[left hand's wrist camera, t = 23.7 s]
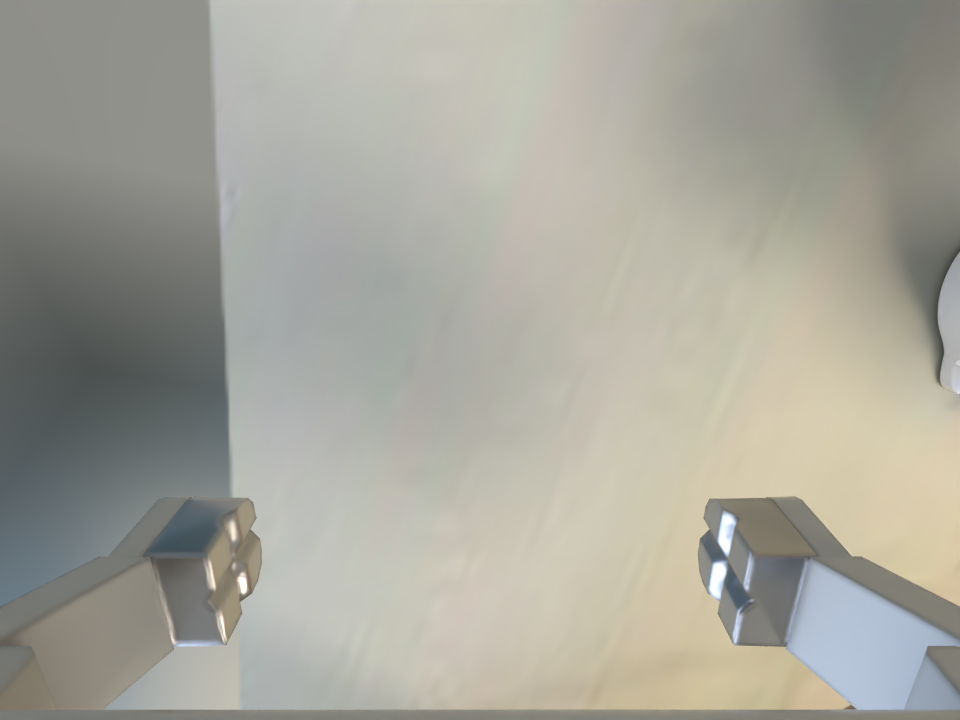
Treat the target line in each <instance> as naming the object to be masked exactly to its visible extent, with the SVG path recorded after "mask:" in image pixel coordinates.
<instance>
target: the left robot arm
mask: <svg viewBox="0 0 960 720" xmlns="http://www.w3.org/2000/svg"><path fill="white" fill-rule="evenodd" d="M938 325H939V330H940V334H941V338H942V341H943V345H944V357H943V361H942V366H941V372H940V382H941V385H942V386H943V387H944V388H945V389H947V390H950V391H952V392H955V393H957V394H960V252H959V253H958V254H957V256H956V258H955V259H954V261H953V262H952V264H951V266H950V268H949V270H948V272H947V274H946V277H945V279H944V282H943V285H942V288H941V291H940V296H939V301H938ZM255 520H256V514H255V509H254V504H253V502H252V501H251V500H250V499H249V498H222V497H193V498H192V497H164V498H161V499H159V500H158V501H157V502H156V503H155V504H154V505H153V506H152V507H151V508H150V510H149V511H148V512H147V513H146V514H145V515H144V516H143V518H142V519H141V520H140V521H139V522H138V523H137V524H136V525H135V527H134V528H133V529H132V530H131V531H130V532H129V533H128V534H127V536H126V537H125V538H124V539H123V540H122V541H121V542H120V544H119V545H118V546H117V547H116V548H115V549H114V550H113V551H112V553H111V554H110V555H109V556H108V557H97V558H95V559H93V560H91V561H89V562H87V563H85V564H83V565H81V566H79V567H77V568H75V569H73V570H71V571H69V572H67V573H65V574H64V575H62V576H60V577H58V578H56V579H54V580H52V581H50V582H48V583H46V584H44V585H42V586H40V587H38V588H36V589H34V590H32V591H30V592H28V593H26V594H24V595H22V596H20V597H18V598H16V599H14V600H12V601H10V602H8V603H6V604H4V605H2V606H0V720H960V607H959V606H957V605H955V604H954V603H952V602H950V601H948V600H946V599H944V598H942V597H940V596H938V595H936V594H934V593H932V592H930V591H928V590H926V589H924V588H922V587H920V586H918V585H916V584H914V583H912V582H910V581H908V580H906V579H904V578H902V577H900V576H898V575H896V574H894V573H892V572H891V571H889V570H887V569H885V568H883V567H881V566H879V565H877V564H875V563H873V562H871V561H869V560H867V559H865V558H863V557H852V556H851V555H850V554H849V553H848V552H847V550H846V549H845V548H844V547H843V546H842V545H841V544H840V542H839V541H838V540H837V539H836V538H835V537H834V536H833V535H832V533H831V532H830V531H829V530H828V529H827V528H826V527H825V525H824V524H823V523H822V522H821V521H820V520H819V519H818V517H817V516H816V515H815V514H814V513H813V512H812V511H811V510H810V508H809V507H808V506H807V505H806V504H805V503H804V502H803V500H801V499H799V498H797V497H795V496H792V497H766V498H729V499H709V501H708V503H707V505H706V508H705V513H704V520H705V522H706V523H707V525H708V527H709V530H708V531H707V532H706V533H705V534H704V535H703V536H702V537H701V538H700V543H699V550H698V561H699V571H700V575H701V578H702V582H703V584H704V586H705V588H706V590H707V592H708V594H710V595H711V596H712V597H714V598H715V599H717V600H718V601H719V602H720V604H719V610H718V615H719V617H720V619H721V621H722V623H723V625H724V627H725V629H726V631H727V633H728V635H729V637H730V639H731V641H732V643H733V645H746V646H781V647H786V650H788V651H789V652H790V653H791V654H792V655H794V656H795V657H796V658H797V659H798V660H799V661H801V662H802V663H803V664H804V665H805V666H806V667H808V668H809V669H810V670H811V671H812V672H814V673H815V674H816V675H817V676H818V677H819V678H821V679H822V680H823V681H824V682H825V683H827V684H828V685H829V686H830V687H831V688H832V689H834V690H835V691H836V692H837V693H838V694H840V695H841V696H842V697H843V698H844V699H845V700H847V701H848V702H849V703H850V704H851V705H852V706H854V707H855V708H856V709H857V710H103V709H104V708H105V707H106V706H108V705H109V704H110V703H111V702H112V701H113V700H115V699H116V698H117V697H118V696H119V695H121V694H122V693H123V692H124V691H125V690H127V689H128V688H129V687H130V686H131V685H132V684H134V683H135V682H136V681H137V680H138V679H140V678H141V677H142V676H143V675H144V674H145V673H147V672H148V671H149V670H150V669H151V668H153V667H154V666H155V665H156V664H157V663H158V662H160V661H161V660H162V659H163V658H164V657H165V656H167V655H168V654H169V653H170V652H171V651H173V650H174V647H179V646H213V645H227V643H228V641H229V639H230V637H231V635H232V633H233V631H234V629H235V627H236V625H237V623H238V621H239V619H240V617H241V615H242V610H241V604H240V602H241V601H242V600H243V599H245V598H246V597H248V596H249V595H250V594H252V592H253V590H254V588H255V586H256V584H257V582H258V578H259V574H260V569H261V565H262V549H261V542H260V538H259V537H258V536H257V535H256V534H255V533H254V532H253V531H252V530H251V527H252V525H253V523H254V522H255Z"/></svg>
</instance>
